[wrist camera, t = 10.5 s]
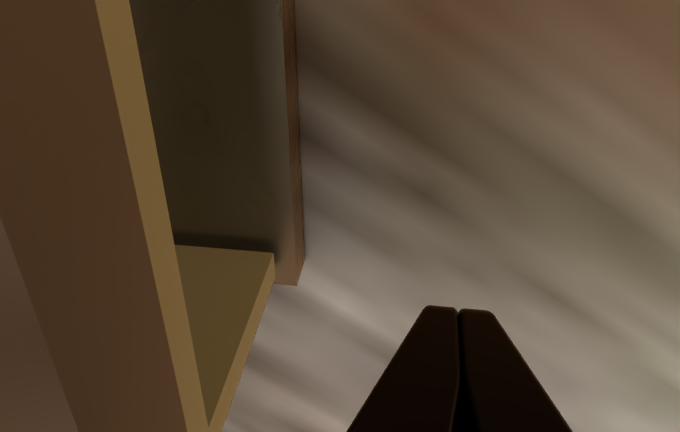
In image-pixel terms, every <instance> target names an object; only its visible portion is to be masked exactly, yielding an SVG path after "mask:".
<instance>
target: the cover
mask: <svg viewBox="0 0 680 432" xmlns="http://www.w3.org/2000/svg"><path fill="white" fill-rule="evenodd" d="M274 279H275V265H274V253H269V252H256V251H244V250H232V249H220V248H208V247H196V246H184V245H174V240H173V235H172V229H171V224H170V219H169V213H168V208H167V203H166V197H165V192H164V186H163V181H162V176H161V170H160V165H159V159H158V154H157V149H156V143H155V138H154V132H153V127H152V122H151V116H150V111H149V106H148V100H147V95H146V89H145V84H144V79H143V73H142V68H141V62H140V57H139V52H138V46H137V41H136V35H135V30H134V25H133V19H132V14H131V8H130V3H129V0H0V432H221V431H222V428H223V425H224V422H225V419H226V416H227V414H228V411H229V408H230V405H231V402H232V399H233V397H234V394H235V391H236V388H237V385H238V382H239V379H240V377H241V374H242V371H243V368H244V365H245V362H246V359H247V357H248V354H249V351H250V348H251V345H252V342H253V339H254V337H255V334H256V331H257V328H258V325H259V322H260V319H261V317H262V314H263V311H264V308H265V305H266V302H267V299H268V297H269V294H270V291H271V288H272V285H273V282H274Z"/></svg>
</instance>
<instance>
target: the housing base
mask: <svg viewBox="0 0 680 432" xmlns="http://www.w3.org/2000/svg"><path fill="white" fill-rule="evenodd" d="M129 3H130V8H131V14H132V19H133V25H134V30H135V35H136V41H137V46H138V52H139V57H140V62H141V68H142V73H143V79H144V84H145V89H146V95H147V100H148V106H149V111H150V116H151V122H152V127H153V132H154V138H155V143H156V149H157V154H158V159H159V165H160V170H161V176H162V181H163V186H164V192H165V197H166V203H167V208H168V213H169V219H170V224H171V229H172V235H173V240H174V245H184V246H196V247H208V248H220V249H232V250H244V251H256V252H269V253H274V265H275V279H274V282H273V284H284V285H295V286H297V284H298V280H299V277H300V274H301V270H302V267H303V264H304V260H305V250H304V227H303V205H302V182H301V160H300V138H299V115H298V93H297V71H296V48H295V26H294V3H293V0H129Z"/></svg>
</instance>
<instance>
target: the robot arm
mask: <svg viewBox="0 0 680 432" xmlns="http://www.w3.org/2000/svg"><path fill="white" fill-rule="evenodd" d="M347 432H572V430H571V429H570V427H569V426H568V424H567V423H566V421H565V420H564V418H563V417H562V415H561V414H560V412H559V411H558V409H557V408H556V406H555V405H554V403H553V402H552V400H551V399H550V397H549V396H548V394H547V393H546V391H545V390H544V388H543V387H542V386H541V384H540V383H539V381H538V380H537V378H536V377H535V375H534V374H533V372H532V371H531V369H530V368H529V366H528V365H527V363H526V362H525V360H524V359H523V357H522V356H521V354H520V353H519V351H518V350H517V348H516V347H515V345H514V344H513V342H512V341H511V340H510V338H509V337H508V335H507V334H506V332H505V331H504V329H503V328H502V326H501V325H500V323H499V322H498V320H497V319H496V317H495V316H494V314H493V313H491V312H490V311H486V310H475V309H461V310H460V311H459V312H457V310H456V309H455V308H453V307H443V306H432V305H429V306H426V307H425V308H424V309H423V310H422V312H421V313H420V315H419V317H418V318H417V320H416V321H415V323H414V325H413V326H412V328H411V329H410V331H409V333H408V334H407V336H406V337H405V339H404V340H403V342H402V344H401V345H400V347H399V348H398V350H397V352H396V353H395V355H394V356H393V358H392V360H391V361H390V363H389V364H388V366H387V368H386V369H385V371H384V372H383V374H382V376H381V377H380V379H379V380H378V382H377V384H376V385H375V387H374V388H373V390H372V392H371V393H370V395H369V396H368V398H367V400H366V401H365V403H364V404H363V406H362V408H361V409H360V411H359V412H358V414H357V416H356V417H355V419H354V420H353V422H352V424H351V425H350V427H349V428H348V430H347Z"/></svg>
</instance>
